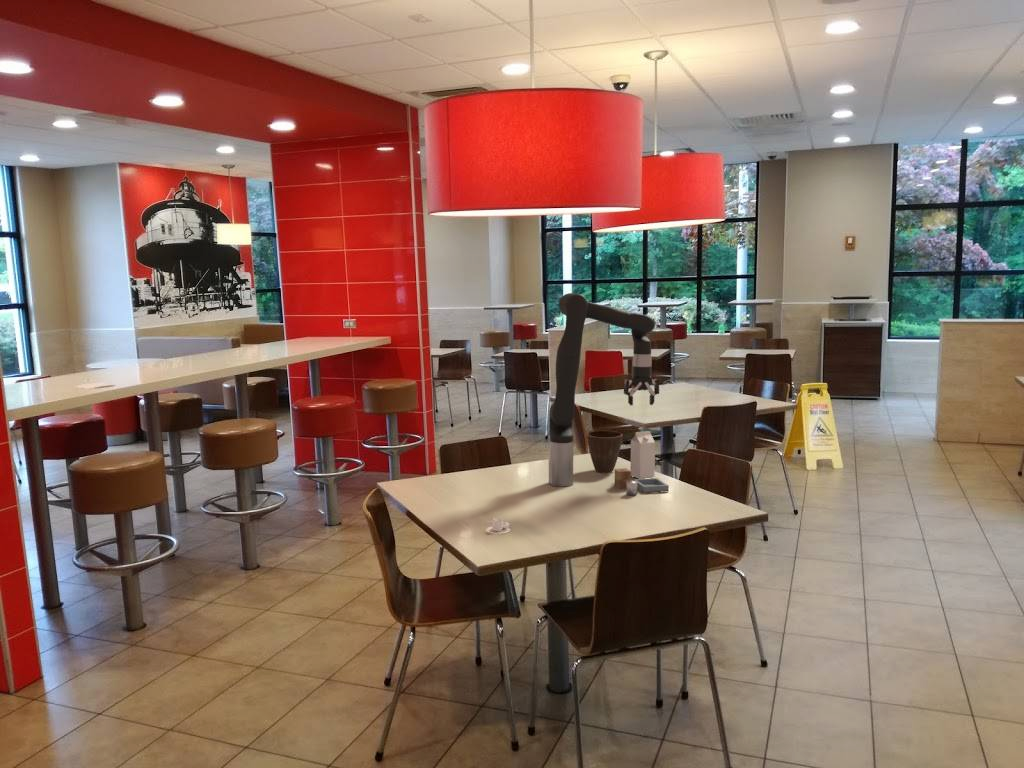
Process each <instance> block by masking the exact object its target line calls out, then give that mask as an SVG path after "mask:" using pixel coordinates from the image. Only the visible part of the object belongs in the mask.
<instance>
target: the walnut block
mask: <svg viewBox="0 0 1024 768" xmlns="http://www.w3.org/2000/svg"><path fill="white" fill-rule="evenodd" d="M630 480H632V477H631V471H630V468H626V467H625V468H614V487H615V488H616V489H617V488H618V489H617V490H627V481H630Z"/></svg>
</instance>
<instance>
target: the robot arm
mask: <svg viewBox="0 0 1024 768" xmlns="http://www.w3.org/2000/svg"><path fill="white" fill-rule="evenodd" d="M558 309H559V311H560V313H561V314H562V315H564V316H566V317H565V327H564V328H565V329H564V332H563V335H562V337H561V339H560V342H559V344H558V347H557V351H556V356H555V357H556V359H555V381H556V390H555V396H554V397H555V398H554V402H553V403H552V404H551V405H550V408H549V411H548V413H549V414H548V415H549V420H548V421H549V422H548V423H549V424H548V425H549V444H550V445H549V449H550V450H549V459H548V483H549V484H550V485H551V486H552V487H554V486H555V487H569V486H572V485H574V429H573V427H574V426H573V423H574V422H573V420H574V419H575V414H576V413H575V409H576V408H575V407H576V405H575V403H576V402H575V398H576V388H577V382H578V377H579V372H580V371H579V370H580V365H581V355H582V354H581V352H582V343H583V334H584V333H583V332H584V326H585V322H586V319H591V320H595V321H598V322H602V323H605V324H607V325H611V326H614V327H617V328H621V329H629V330H630V332H631V336H632V341H633V352H632V353H633V356H632V363H631V364H632V371H631V372H632V373H631V374H632V378H631V379H624V382H623V383H624V384H623V394H624V395H626V396H627V403H628V404H629V406H634V394H635V393H636V392H637V391H647V392H648V394H650V395H649V405H650V406H653V405H654V404H655V396H656V395H659V394H660V380H659V379H658V378H654V379H652V366H653V365H652V360H653V359H652V342H651V340H650V339H649V338H648V334H649V333H652V332H653V330H654V329H655V327H656V323H655V320H654V319H653V318H652V317H651V316H649V315H646V314H641V313H636V312H631V311H628V310H625V309H622V308H618V307H614V306H609V305H604V304H599V303H596V302H595V303H594V302H591V301H588V300H587V298H586V297H585V296H584V295H583V294H580V293H573V292H570V293H565V294H563V295H562V296H561V297H560V298H559V301H558ZM630 385H632V387H631V388H630ZM651 385H654V386H653V388H654V390H653V388H652V387H651ZM629 389H630V390H629Z"/></svg>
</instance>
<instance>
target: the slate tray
mask: <svg viewBox="0 0 1024 768" xmlns="http://www.w3.org/2000/svg"><path fill="white" fill-rule="evenodd" d="M632 481H637V488H638V489H639V490H638V489H637V490H638V491H640V490H641V491H642V492H641V491H640V492H641V493H643V494H651V493H650V492H659V493H662V492H661V491H669V489H670V488H669V487H670V486H669V485H668V484H667V483H665V482H664V481H663V480H661V479H659V478H658V477H657V478H655V477H654V478H651V479H636V478H635V479H633V480H632ZM669 492H670V491H669Z"/></svg>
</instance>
